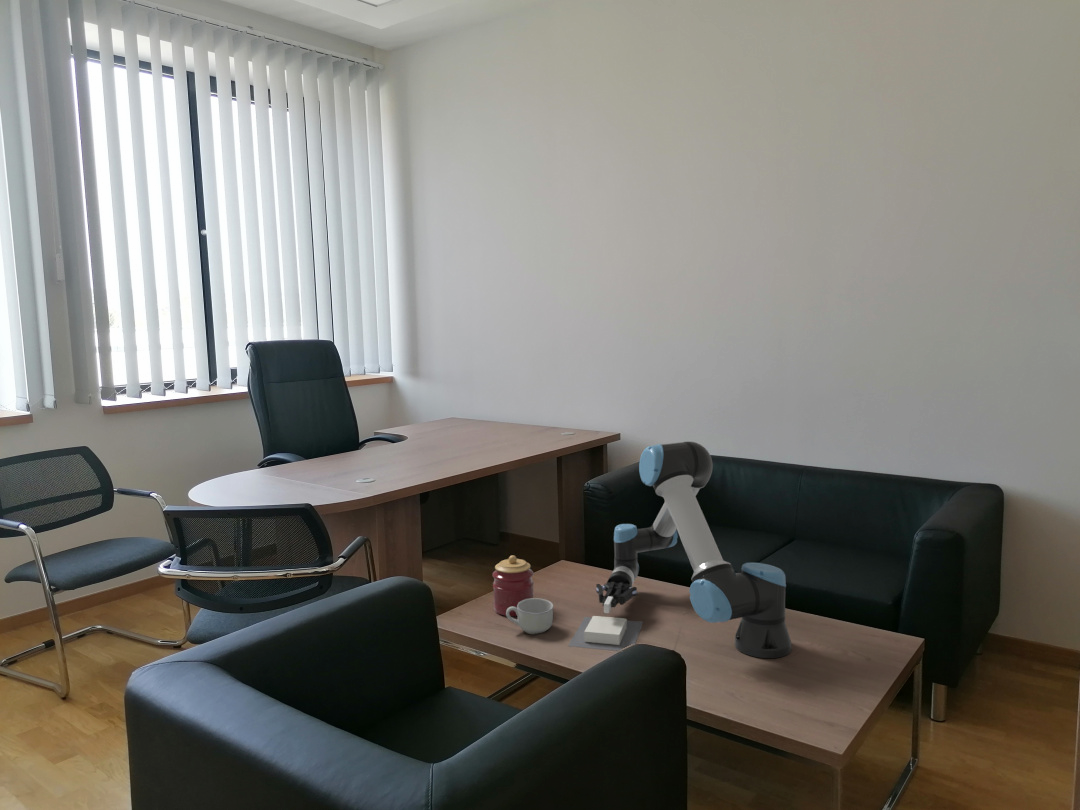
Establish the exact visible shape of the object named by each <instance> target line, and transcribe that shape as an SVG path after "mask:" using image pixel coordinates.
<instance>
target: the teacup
mask: <svg viewBox="0 0 1080 810" xmlns="http://www.w3.org/2000/svg"><path fill="white" fill-rule="evenodd" d="M511 610H514V611H515V612H516V615H517V616H516V617H517V619H516V618H514V617H513V616H510V615H509V612H510V611H511ZM553 613H554V604H553V602H551V601H550V600H548V599H545V598H538V597H537V598H536V597H533V598H531V599H525V600H522V601H520V602H519V603H518V605H517V608H516V607H513V606H512V607H509V608H508V609H507V611H506V616H505V617H506V618H507V619H508V620H509V621H511V622H512V623H514V624H515V625H516V627H517V626H518V627H519V628H520V629H521V630H522V631H524V632H525V633H526V634H529V635H537V634H542V633H545V632H546V631H547V630H549V629H550V628H551V627H552V624H553V618H554V617H553V616H554V614H553Z"/></svg>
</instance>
